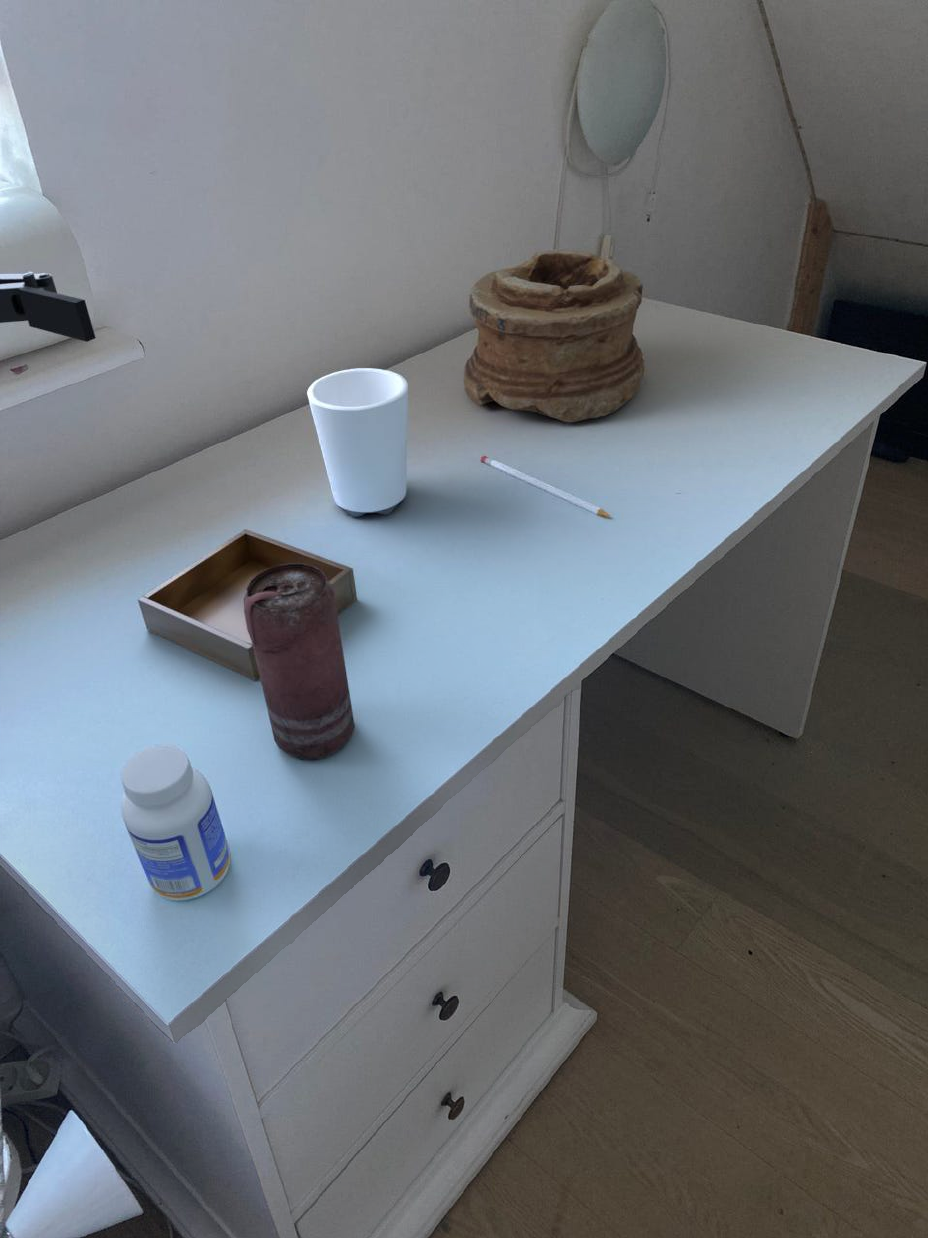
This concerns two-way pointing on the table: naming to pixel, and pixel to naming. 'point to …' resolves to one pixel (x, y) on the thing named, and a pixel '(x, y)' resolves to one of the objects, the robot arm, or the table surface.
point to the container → (556, 336)
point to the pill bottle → (173, 823)
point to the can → (300, 659)
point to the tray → (228, 598)
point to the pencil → (545, 487)
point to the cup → (363, 437)
